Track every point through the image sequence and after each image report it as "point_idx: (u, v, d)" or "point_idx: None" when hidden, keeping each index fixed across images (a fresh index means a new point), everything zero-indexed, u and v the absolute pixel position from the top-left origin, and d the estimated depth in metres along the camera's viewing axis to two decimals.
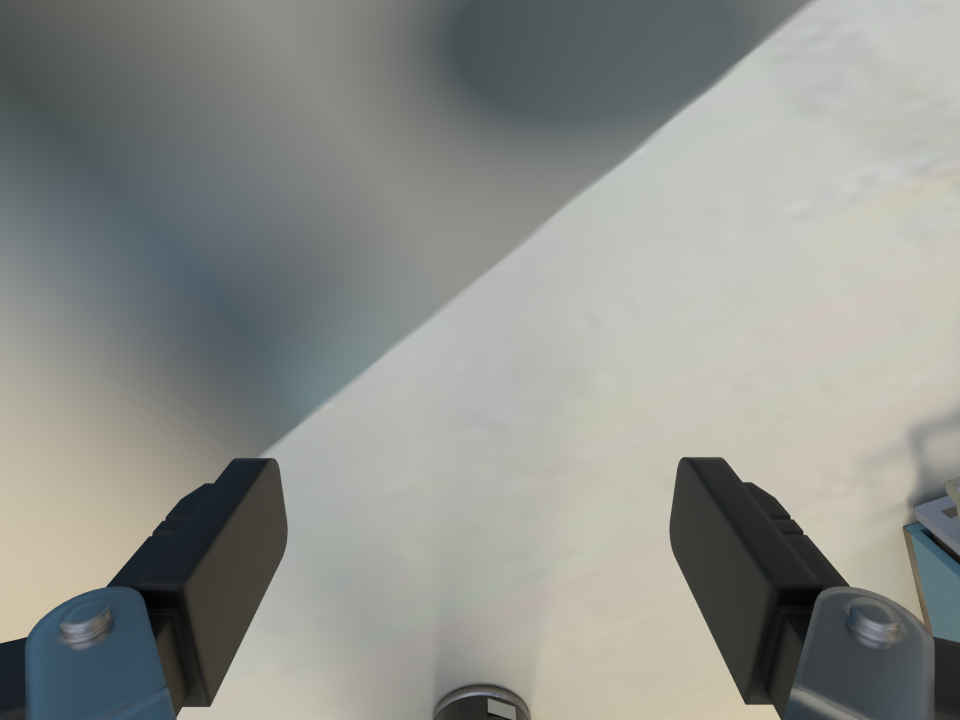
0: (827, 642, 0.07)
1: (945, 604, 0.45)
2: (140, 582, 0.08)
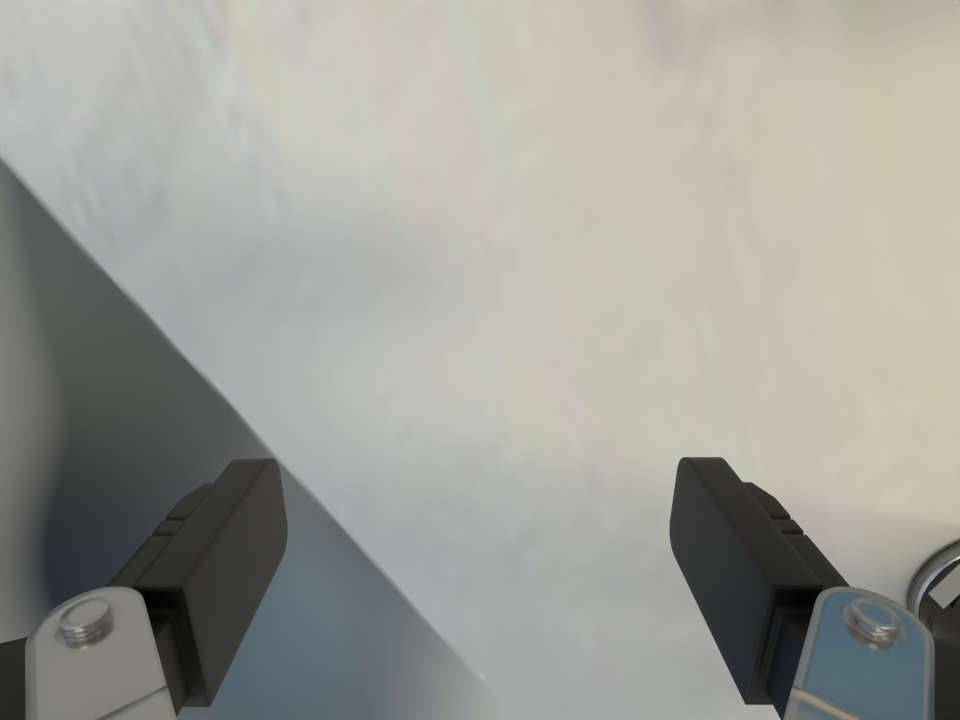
0: (827, 642, 0.07)
1: None
2: (140, 582, 0.08)
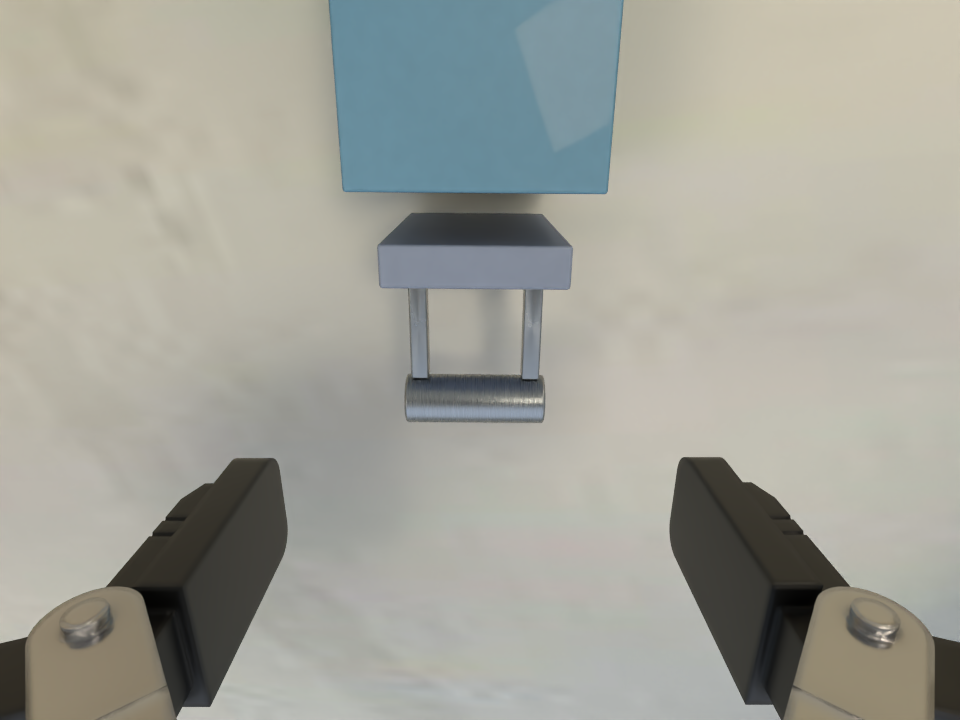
0: (827, 642, 0.07)
1: None
2: (140, 582, 0.08)
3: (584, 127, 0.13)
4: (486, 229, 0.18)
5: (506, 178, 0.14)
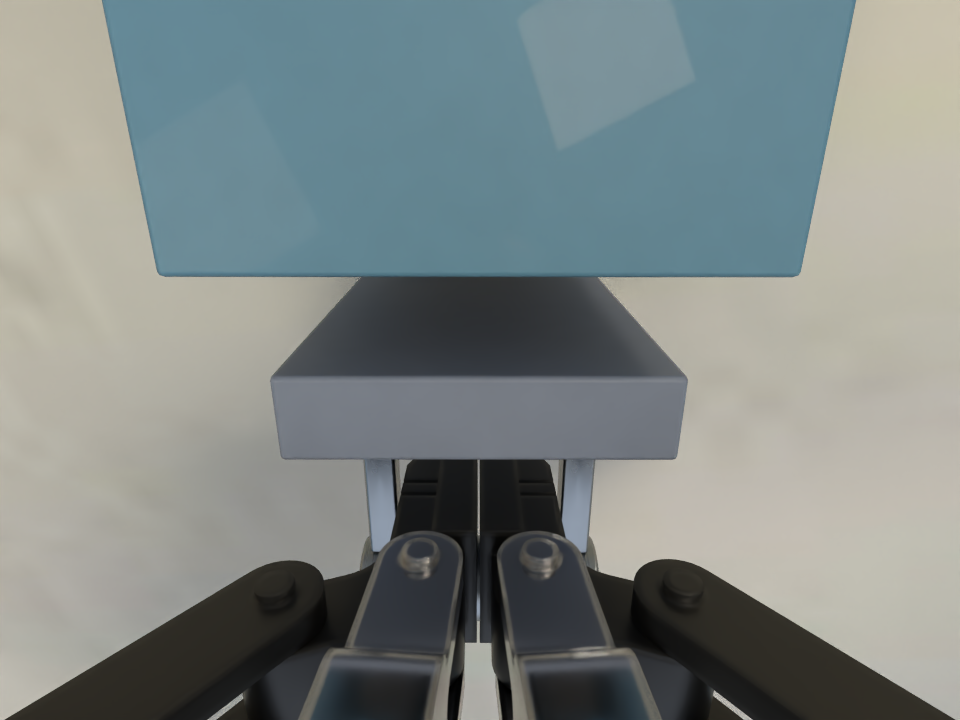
0: (519, 594, 0.07)
1: None
2: (435, 528, 0.09)
3: (760, 115, 0.05)
4: (498, 308, 0.10)
5: (555, 243, 0.06)
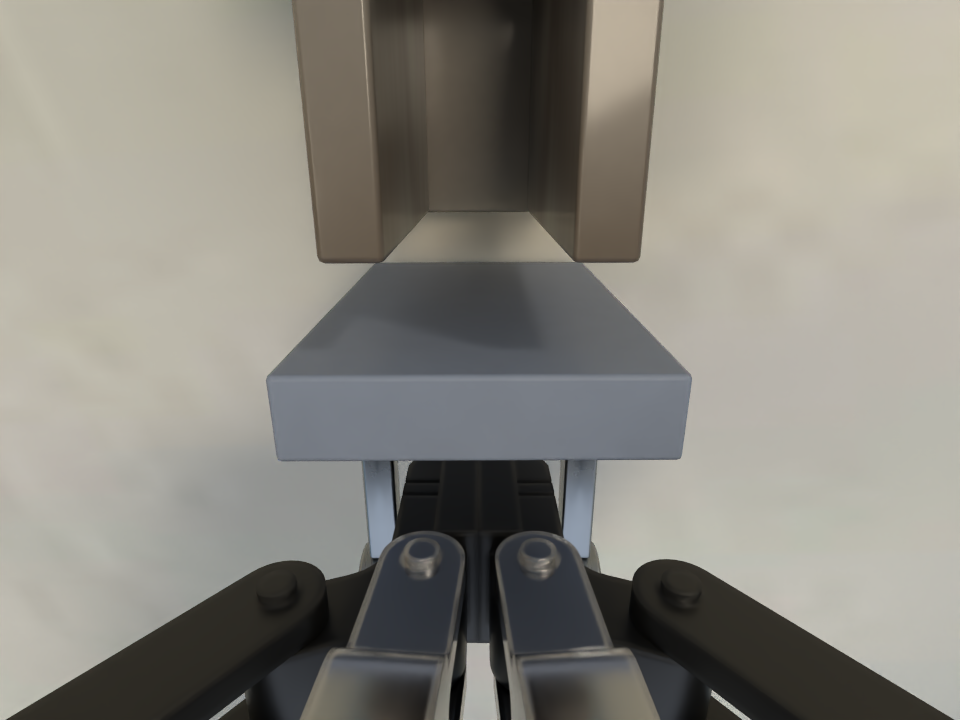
0: (517, 594, 0.07)
1: None
2: (437, 528, 0.09)
3: None
4: (498, 309, 0.10)
5: None
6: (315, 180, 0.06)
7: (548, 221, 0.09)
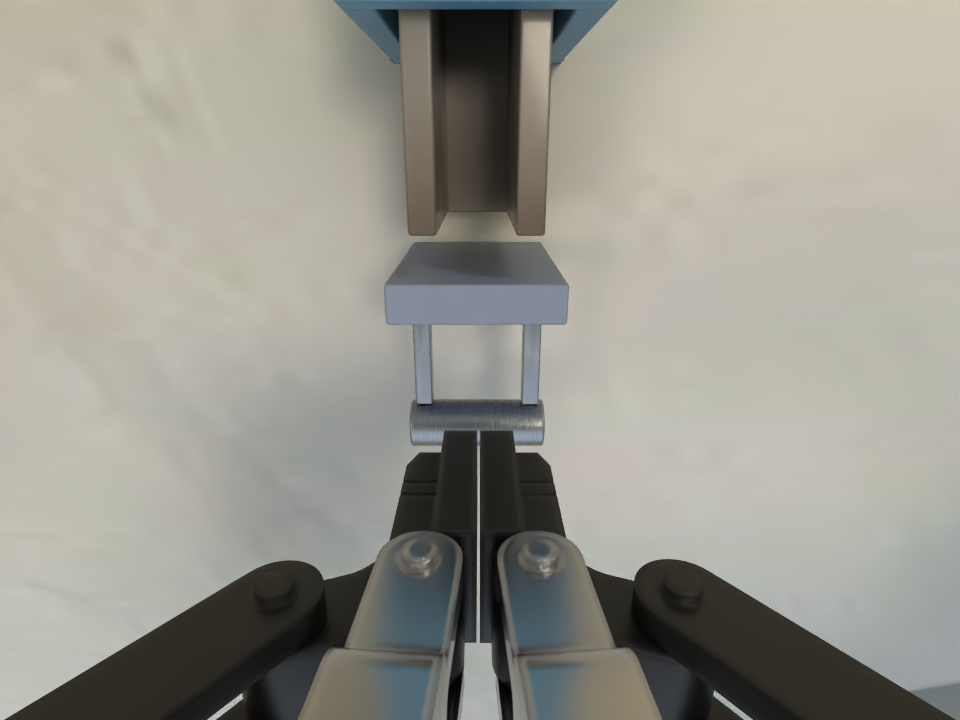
0: (519, 594, 0.07)
1: None
2: (435, 528, 0.09)
3: None
4: (486, 263, 0.19)
5: None
6: (409, 200, 0.15)
7: (511, 217, 0.18)
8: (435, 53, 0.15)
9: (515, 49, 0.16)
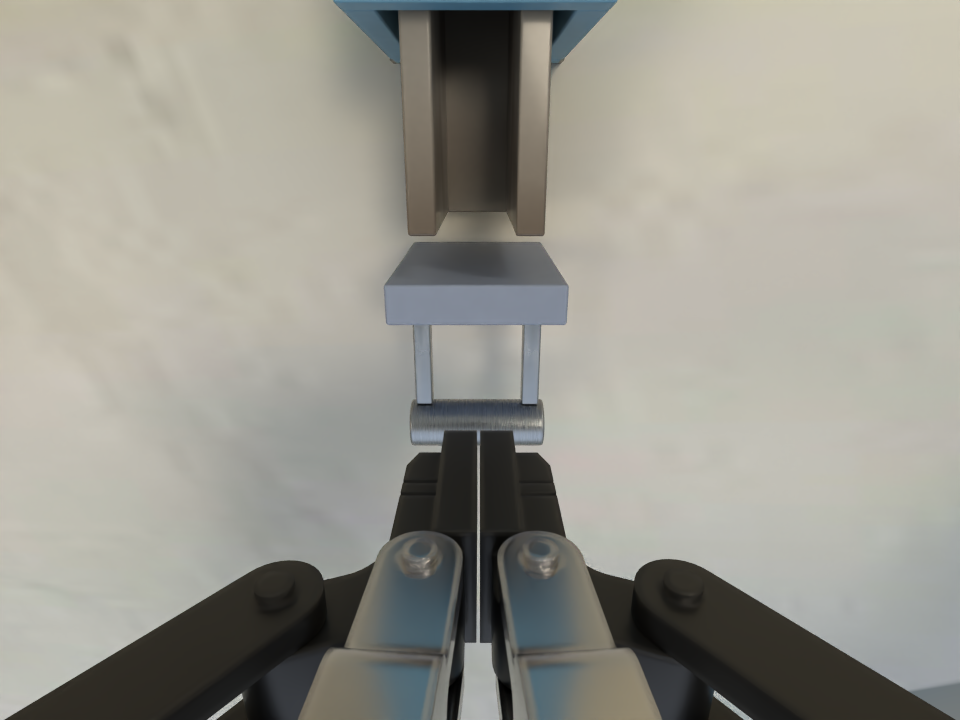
0: (519, 594, 0.07)
1: None
2: (435, 528, 0.09)
3: None
4: (486, 263, 0.19)
5: None
6: (409, 201, 0.15)
7: (511, 217, 0.18)
8: (435, 54, 0.15)
9: (515, 50, 0.16)
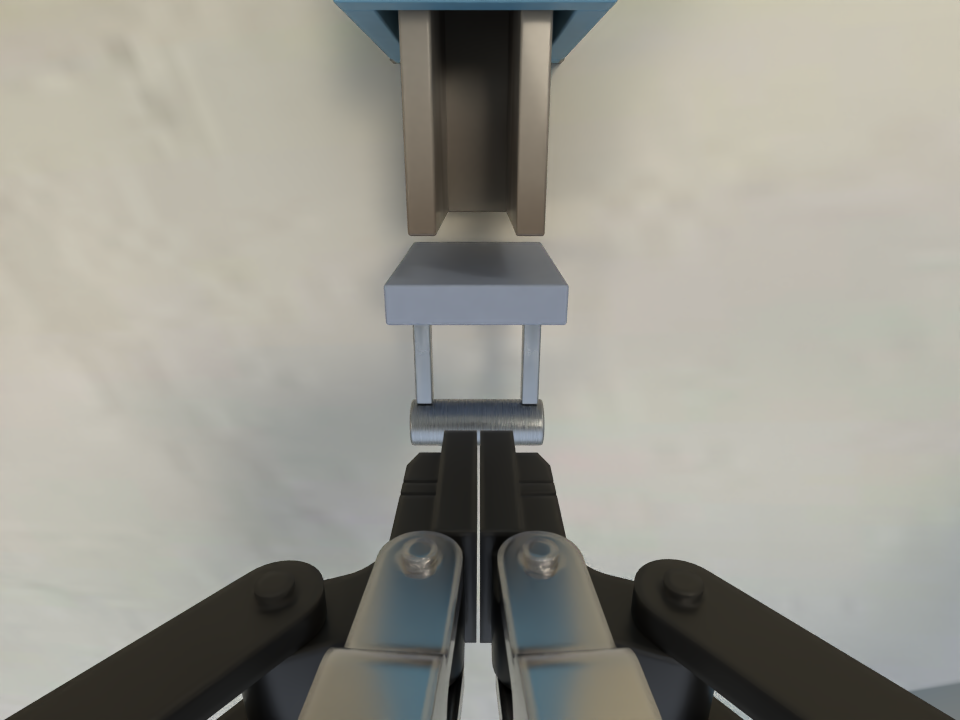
0: (519, 594, 0.07)
1: None
2: (435, 528, 0.09)
3: None
4: (486, 263, 0.19)
5: None
6: (409, 201, 0.15)
7: (511, 217, 0.18)
8: (435, 54, 0.15)
9: (515, 50, 0.16)
